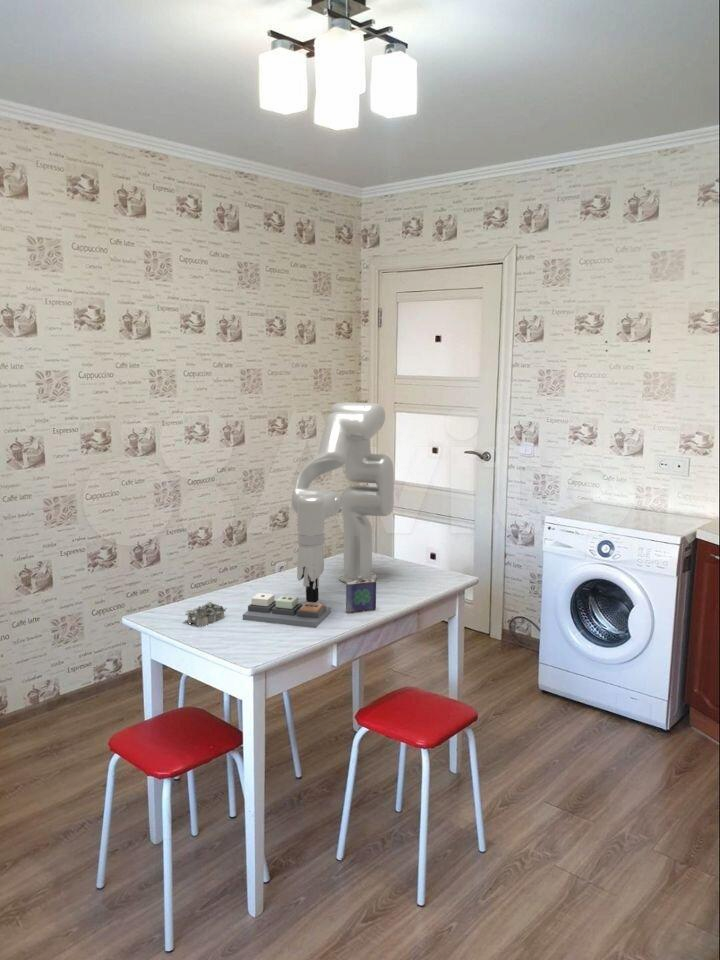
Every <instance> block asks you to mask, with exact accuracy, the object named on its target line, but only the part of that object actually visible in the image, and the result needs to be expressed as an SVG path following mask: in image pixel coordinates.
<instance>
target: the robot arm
mask: <svg viewBox="0 0 720 960" xmlns="http://www.w3.org/2000/svg"><path fill="white" fill-rule="evenodd" d="M325 420H326V421H325V423H324V427H323V432H322V435H321V441H320V444H319V448H318V452H317V454H316V456H315V457H314V458H313V459H311V460H310V461H309V462H307V464H306V465H305V466H304V467H303V468H302V469H301V470H300V472H299V473H298V475H297V477H296V479H295V483H294V487H293V491H292V496H291V507H292V510H293V511H294V513H296V514H297V515H296V517H297V518H296V519H297V545H298V551H297V552H298V553H297V568H296V569H297V571H296V572H297V575H296V576H297V577H296V579H297V580H298V581H302V580H303V584H302V585H303V587H305V601H306V602H308V603H318V601H319V597H320V596H319V595H320V594H319V586H320V577H321V575H322V574H323V573H324V572H325V553H324V545H325V544H326V543H325V537H326V536H325V535H326V534H325V518H328V517H329V518H330V517H334V516H336V514H338V513H339V511H340V510H341V511H342V512H341V513H342V521H343V572H341V573H339V575H338V580H340V581H341V582H343V583H345V584H346V583H348V582H354V581H358V579H359V575H362V578H363V579H368V580H369V579H371V580H375V581H376V580H377V574H376V573H375V572H373V528H372V527H373V526H372V524H371V521H370V520H369V518H368V517H367V516H370V517H371V516H374V517H388V516H390V515H391V514H392V512H393V509H394V502H395V497H394V496H395V495H394V489H395V487H394V486H395V485H394V484H395V483H394V482H395V480H394V479H395V478H394V473H395V472H394V464H393V461H392V458H391V457H390V456H389V455H386V454H382V453H381V454H380V453H372V451H371V439H372V438H373V437H374V436H375V435H376V434H377V433H379V431H380V430H382V428H383V426H384V423H385V420H386V411H385V409H384V407H383V405H382V404H380V403H375V402H353V401H352V402H350V401H347V402H345V401H344V402H337V403H334V404H333V405H332V406H331V408H330V414H329V415H328V416H327V417H326V419H325ZM343 466H344V475H345V478H346V479H347V480H348V481H350V482H354V483H363V484H364V483H367V484H376V486H367V485H349V486H346V487H344V489H343V490H342V491H341V494H339V492H336V491H335V490H330V489H319V488H318V489H317V488H309V487H310V486H311V483H312V482H313V481H314V480H315V479H317V478H318V477H320V476H322V475H324V474H327V473H329V472H332V471H335V470H337V469H340V468H342V467H343Z"/></svg>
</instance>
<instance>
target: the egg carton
mask: <svg viewBox="0 0 720 960" xmlns="http://www.w3.org/2000/svg"><path fill="white" fill-rule="evenodd" d="M226 610H228V608H227V607H225V608H224V607H223V605H220V604H217V603H215V604H214V603H213V602H211V601H208V602H207V603H205V604H203V605H201V606H200V605H199V606H198V607H194V608H193V609H188V610H187V611H186V612H185V614H184V615H185V616H187V624H188V623H197V624H196V626H197V627H198V626H200V627H207V626H208V625H209V623H210V624H211V622H212V623H216V622H217V620H224V619H225V613H226V612H227V611H226ZM202 625H203V626H202ZM206 625H207V626H206Z"/></svg>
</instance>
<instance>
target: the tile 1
mask: <svg viewBox="0 0 720 960" xmlns="http://www.w3.org/2000/svg"><path fill="white" fill-rule="evenodd" d="M250 601H251V603H252V605H259V606H269V605H270V604H271V603H273V602H274V601H276V600H275V594H273V593H263V592H258V593H256V594H255V595H254V596H252V597H251V600H250Z"/></svg>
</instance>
